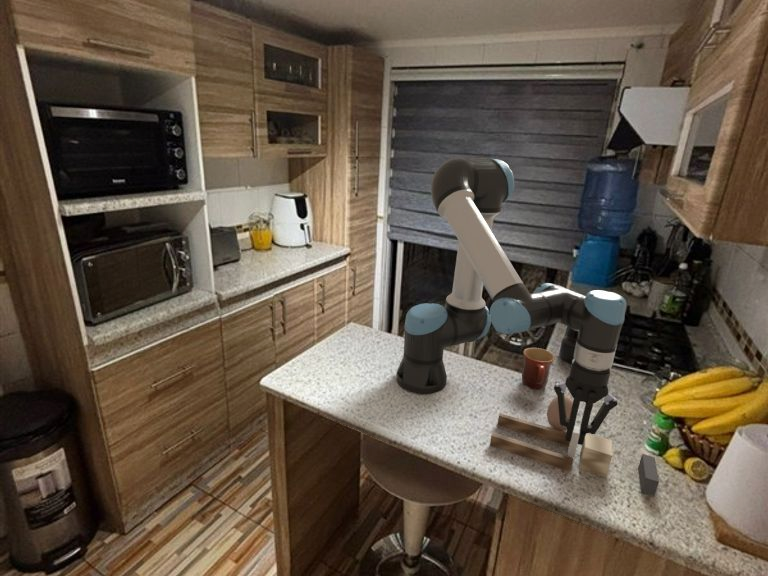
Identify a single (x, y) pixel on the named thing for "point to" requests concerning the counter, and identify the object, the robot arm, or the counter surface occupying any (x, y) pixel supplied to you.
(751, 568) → the counter surface
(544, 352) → the mug
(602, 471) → the block
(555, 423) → the egg
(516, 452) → the chute
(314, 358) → the counter surface
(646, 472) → the block
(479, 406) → the counter surface
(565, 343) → the ink bottle
